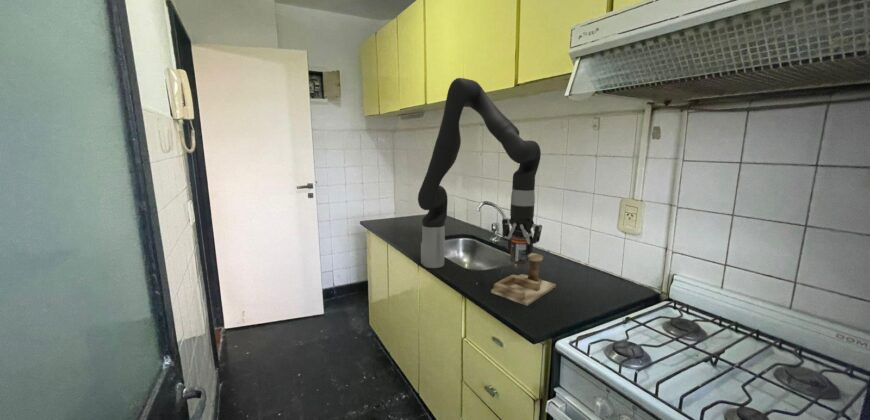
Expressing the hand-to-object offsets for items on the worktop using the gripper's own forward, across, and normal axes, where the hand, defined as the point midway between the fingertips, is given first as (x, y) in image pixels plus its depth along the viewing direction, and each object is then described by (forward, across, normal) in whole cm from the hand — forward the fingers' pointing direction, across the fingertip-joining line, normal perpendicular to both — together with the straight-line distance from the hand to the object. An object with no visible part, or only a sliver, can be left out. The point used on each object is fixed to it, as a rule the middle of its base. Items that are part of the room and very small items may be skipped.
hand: (519, 251), depth 119 cm
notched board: (+15, 0, +4) cm, 16 cm away
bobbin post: (+15, 0, +10) cm, 18 cm away
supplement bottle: (+4, 0, 0) cm, 4 cm away
